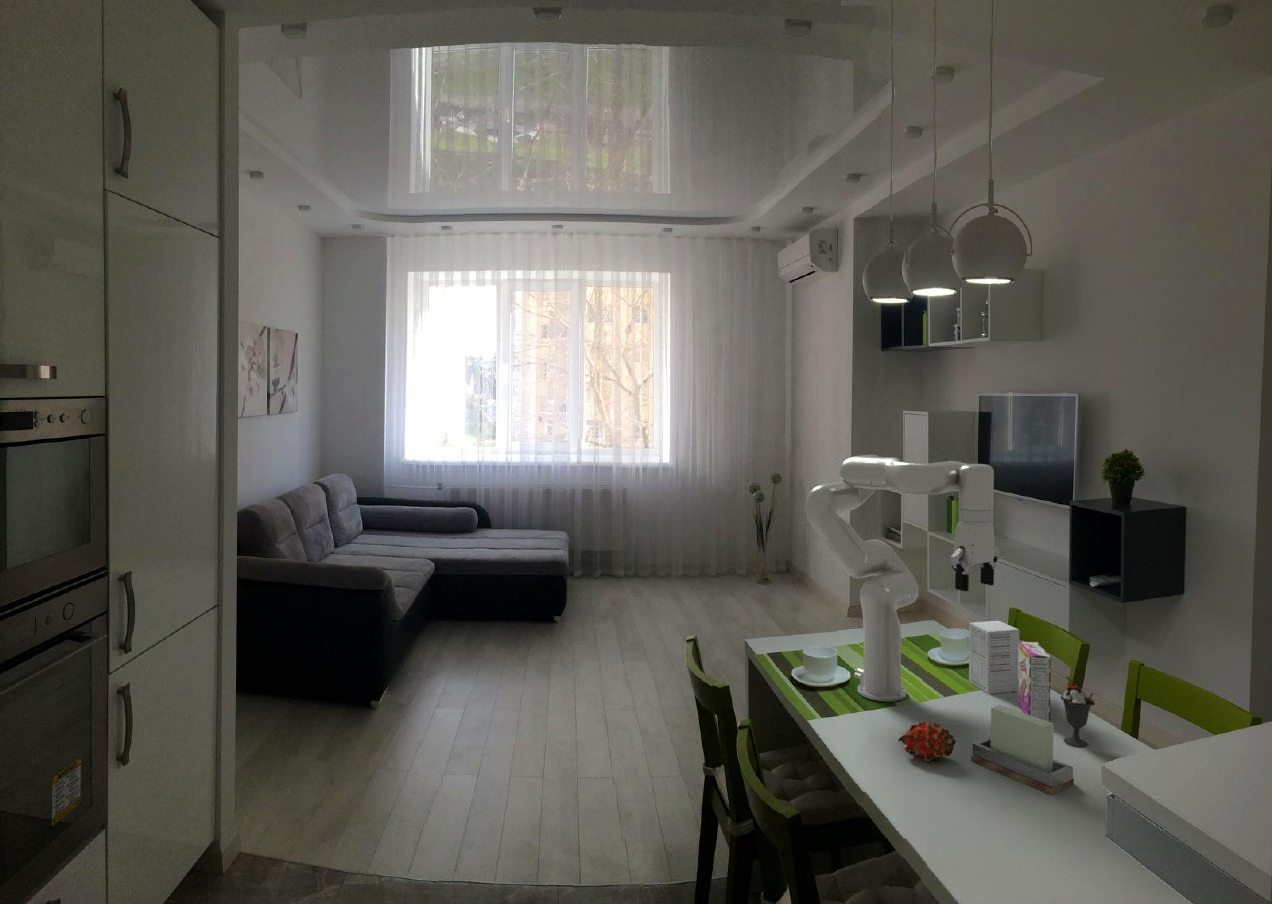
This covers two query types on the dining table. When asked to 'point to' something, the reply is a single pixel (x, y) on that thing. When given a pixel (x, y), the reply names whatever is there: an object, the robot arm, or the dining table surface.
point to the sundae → (1076, 712)
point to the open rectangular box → (1023, 768)
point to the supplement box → (993, 656)
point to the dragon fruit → (928, 741)
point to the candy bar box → (1034, 680)
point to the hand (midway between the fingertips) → (974, 587)
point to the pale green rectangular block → (1022, 737)
